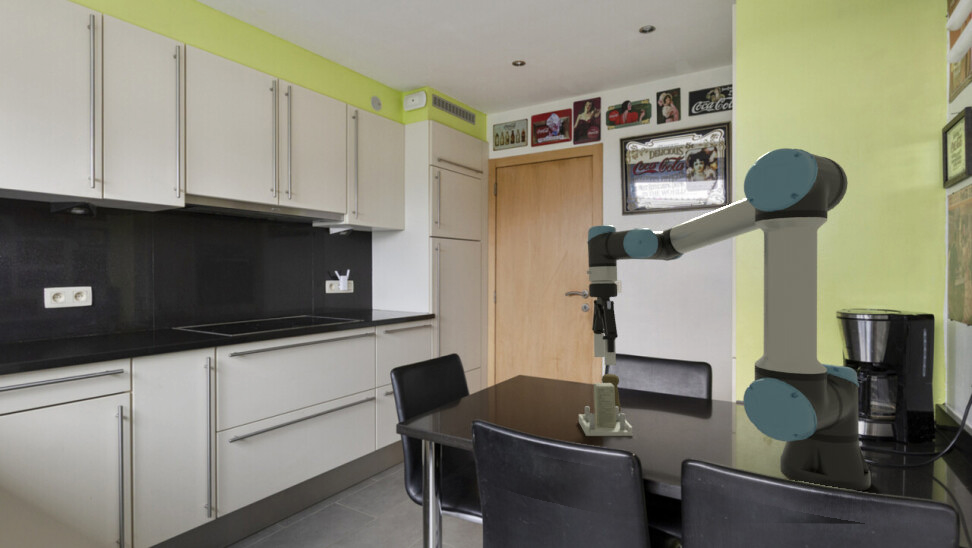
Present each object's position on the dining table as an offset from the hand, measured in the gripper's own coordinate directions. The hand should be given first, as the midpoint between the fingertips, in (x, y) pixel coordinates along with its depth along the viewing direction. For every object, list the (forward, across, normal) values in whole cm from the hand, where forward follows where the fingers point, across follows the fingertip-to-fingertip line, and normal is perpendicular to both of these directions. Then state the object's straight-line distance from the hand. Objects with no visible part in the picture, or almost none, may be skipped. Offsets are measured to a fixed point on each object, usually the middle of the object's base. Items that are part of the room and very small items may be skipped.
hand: (604, 360), depth 130 cm
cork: (+18, -19, +6) cm, 27 cm away
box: (+18, 0, 0) cm, 18 cm away
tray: (+18, 0, 0) cm, 19 cm away
